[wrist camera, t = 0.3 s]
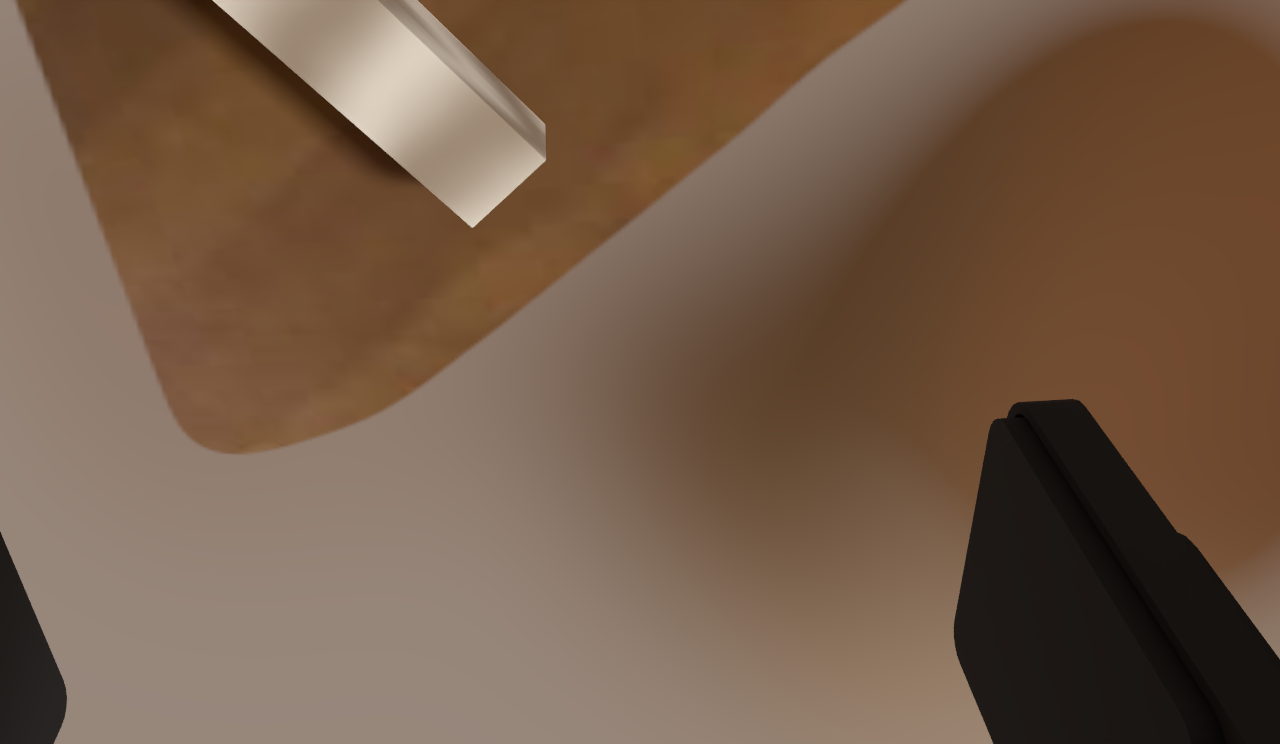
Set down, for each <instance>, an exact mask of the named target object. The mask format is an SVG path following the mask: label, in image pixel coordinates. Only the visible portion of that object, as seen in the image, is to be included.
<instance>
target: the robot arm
mask: <svg viewBox="0 0 1280 744" xmlns="http://www.w3.org/2000/svg"><path fill="white" fill-rule="evenodd" d="M954 640H955V647H956V652H957V656H958V659H959V662H960V664H961V667H962V669H963V672H964V674H965V676H966V679H967V681H968V684H969V686H970V689H971V691H972V693H973V696H974V698H975V700H976V703H977V705H978V707H979V710H980V712H981V715H982V717H983V720H984V722H985V724H986V727H987V729H988V732H989V734H990V736H991V739H992V741H993V744H1280V659H1279V658H1278V657H1277V655H1276V654H1275V652H1274V651H1273V650H1272V648H1271V647H1270V645H1269V644H1268V643H1267V641H1266V640H1265V639H1264V637H1263V636H1262V635H1261V633H1260V632H1259V631H1258V629H1257V628H1256V627H1255V625H1254V624H1253V623H1252V621H1251V620H1250V619H1249V617H1248V616H1247V615H1246V613H1245V612H1244V610H1243V609H1242V608H1241V606H1240V605H1239V604H1238V602H1237V601H1236V600H1235V598H1234V597H1233V596H1232V594H1231V593H1230V591H1229V590H1228V589H1227V587H1226V586H1225V585H1224V583H1223V582H1222V581H1221V579H1220V578H1219V577H1218V575H1217V574H1216V573H1215V571H1214V570H1213V568H1212V567H1211V566H1210V565H1209V563H1208V562H1207V560H1206V559H1205V558H1204V556H1203V555H1202V554H1201V552H1200V551H1199V550H1198V548H1197V547H1196V546H1195V545H1194V544H1193V543H1192V542H1191V541H1190V540H1189V539H1188V538H1187V537H1186V536H1184V535H1182V534H1180V533H1177V532H1176V530H1175V529H1174V527H1173V526H1172V525H1171V523H1170V522H1169V521H1168V519H1167V518H1166V516H1165V515H1164V514H1163V512H1162V511H1161V510H1160V508H1159V507H1158V506H1157V504H1156V503H1155V501H1154V500H1153V499H1152V497H1151V496H1150V495H1149V493H1148V492H1147V491H1146V489H1145V488H1144V486H1143V485H1142V484H1141V482H1140V481H1139V480H1138V478H1137V477H1136V475H1135V474H1134V473H1133V471H1132V470H1131V469H1130V467H1129V466H1128V464H1127V463H1126V462H1125V461H1124V459H1123V458H1122V457H1121V455H1120V454H1119V452H1118V451H1117V449H1116V448H1115V447H1114V445H1113V444H1112V442H1111V441H1110V440H1109V438H1108V437H1107V436H1106V434H1105V433H1104V432H1103V430H1102V429H1101V427H1100V426H1099V425H1098V423H1097V422H1096V421H1095V419H1094V418H1093V417H1092V415H1091V414H1090V412H1089V411H1088V410H1087V408H1086V407H1085V406H1084V405H1083V404H1082V403H1081V402H1080V401H1078V400H1074V399H1067V400H1050V401H1033V402H1018V403H1016V404H1014V405H1013V406H1012V407H1011V409H1010V411H1009V413H1008V416H1007V418H1002V419H996V420H994V421H993V423H992V424H991V427H990V430H989V434H988V440H987V445H986V451H985V456H984V462H983V467H982V473H981V478H980V484H979V489H978V495H977V501H976V506H975V511H974V517H973V522H972V528H971V533H970V539H969V544H968V549H967V555H966V561H965V566H964V571H963V577H962V582H961V588H960V594H959V599H958V604H957V610H956V615H955V622H954ZM66 703H67V695H66V687H65V684H64V681H63V678H62V676H61V674H60V671H59V669H58V667H57V664H56V662H55V659H54V657H53V655H52V652H51V650H50V648H49V645H48V643H47V641H46V638H45V636H44V634H43V631H42V629H41V627H40V624H39V622H38V619H37V617H36V615H35V613H34V610H33V608H32V606H31V603H30V601H29V598H28V596H27V594H26V591H25V589H24V586H23V584H22V582H21V580H20V577H19V575H18V573H17V570H16V568H15V565H14V563H13V561H12V558H11V556H10V554H9V551H8V549H7V547H6V544H5V542H4V539H3V537H2V535H1V532H0V744H54V741H55V739H56V737H57V735H58V732H59V730H60V728H61V726H62V723H63V720H64V717H65V712H66Z"/></svg>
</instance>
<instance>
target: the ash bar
mask: <svg viewBox="0 0 1280 744" xmlns="http://www.w3.org/2000/svg"><path fill="white" fill-rule="evenodd" d="M213 1H214V2H215V3H216V4H217V5H218V6H220V7H221V8H222V9H223V10H224V11H225V12H226V13H227V14H229V15H230V16H231V17H232V18H233V19H234V20H235V21H237V22H238V23H239V24H240V25H241V26H242V27H243V28H245V29H246V30H247V31H248V32H249V33H250V34H251V35H253V36H254V37H255V38H256V39H257V40H258V41H259V42H261V43H262V44H263V45H264V46H265V47H266V48H267V49H269V50H270V51H271V52H272V53H273V54H274V55H275V56H277V57H278V58H279V59H280V60H281V61H282V62H283V63H285V64H286V65H287V66H288V67H289V68H290V69H291V70H293V71H294V72H295V73H296V74H297V75H298V76H299V77H301V78H302V79H303V80H304V81H305V82H306V83H307V84H309V85H310V86H311V87H312V88H313V89H314V90H315V91H317V92H318V93H319V94H320V95H321V96H322V97H323V98H325V99H326V100H327V101H328V102H329V103H330V104H331V105H333V106H334V107H335V108H336V109H337V110H338V111H339V112H341V113H342V114H343V115H344V116H345V117H346V118H347V119H349V120H350V121H351V122H352V123H353V124H354V125H355V126H357V127H358V128H359V129H360V130H361V131H362V132H363V133H365V134H366V135H367V136H368V137H369V138H370V139H371V140H373V141H374V142H375V143H376V144H377V145H378V146H379V147H381V148H382V149H383V150H384V151H385V152H386V153H387V154H389V155H390V156H391V157H392V158H393V159H394V160H395V161H397V162H398V163H399V164H400V165H401V166H402V167H403V168H405V169H406V170H407V171H408V172H409V173H410V174H411V175H413V176H414V177H415V178H416V179H417V180H418V181H419V182H421V183H422V184H423V185H424V186H425V187H426V188H427V189H429V190H430V191H431V192H432V193H433V194H434V195H435V196H437V197H438V198H439V199H440V200H441V201H442V202H443V203H444V204H446V205H447V206H448V207H449V208H450V209H451V210H452V211H454V212H455V213H456V214H457V215H458V216H459V217H460V218H462V219H463V220H464V221H465V222H466V223H467V224H468V225H470V226H471V227H472V228H473V227H474V226H475V225H476V224H477V223H478V222H480V221H481V220H482V219H483V218H484V217H485V216H486V215H487V214H488V213H489V212H490V211H491V210H493V209H494V208H495V207H496V206H497V205H498V204H499V203H500V202H501V201H502V200H503V199H504V198H506V197H507V196H508V195H509V194H510V193H511V192H512V191H513V190H514V189H515V188H516V187H517V186H519V185H520V184H521V183H522V182H523V181H524V180H525V179H526V178H527V177H528V176H529V175H530V174H532V173H533V172H534V171H535V170H536V169H537V168H538V167H539V166H540V165H541V164H542V163H543V162H545V161H546V135H545V124H544V123H543V122H542V121H541V120H540V119H539V118H538V117H537V116H536V115H535V114H534V113H533V112H532V111H531V110H530V109H529V108H528V107H527V106H526V105H525V104H524V103H523V102H522V101H521V100H520V99H519V98H518V97H517V96H515V95H514V94H513V93H512V92H511V91H510V90H509V89H508V88H507V87H506V86H505V85H504V84H503V83H502V82H501V81H500V80H499V79H498V78H497V77H496V76H495V75H494V74H493V73H492V72H491V71H490V70H489V69H488V68H487V67H486V66H485V65H484V64H483V63H481V62H480V61H479V60H478V59H477V58H476V57H475V56H474V55H473V54H472V53H471V52H470V51H469V50H468V49H467V48H466V47H465V46H464V45H463V44H462V43H461V42H460V41H459V40H458V39H457V38H456V37H455V36H454V35H453V34H452V33H451V32H450V31H449V30H447V29H446V28H445V27H444V26H443V25H442V24H441V23H440V22H439V21H438V20H437V19H436V18H435V17H434V16H433V15H432V14H431V13H430V12H429V11H428V10H427V9H426V8H425V7H424V6H423V5H422V4H421V3H420V2H419V1H418V0H213Z"/></svg>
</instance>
